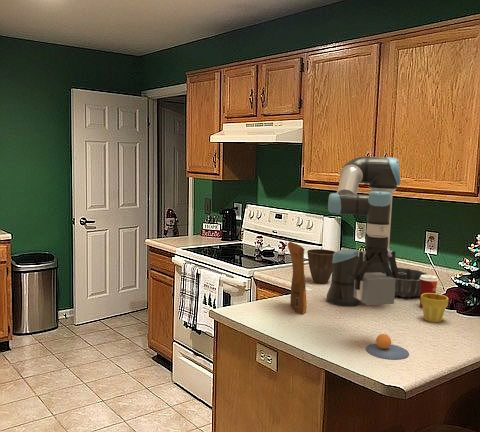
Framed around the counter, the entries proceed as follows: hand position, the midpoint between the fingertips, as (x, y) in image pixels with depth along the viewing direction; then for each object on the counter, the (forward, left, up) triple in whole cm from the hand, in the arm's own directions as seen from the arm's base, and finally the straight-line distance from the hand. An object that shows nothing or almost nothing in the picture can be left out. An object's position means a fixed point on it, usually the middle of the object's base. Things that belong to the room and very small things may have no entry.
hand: (373, 298), depth 183 cm
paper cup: (-33, +45, -15) cm, 58 cm away
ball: (+8, 0, -13) cm, 15 cm away
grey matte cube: (0, 0, -1) cm, 1 cm away
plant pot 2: (-17, +37, -15) cm, 44 cm away
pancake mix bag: (-40, -13, -16) cm, 45 cm away
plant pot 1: (-82, +16, -15) cm, 85 cm away
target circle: (+11, 0, -15) cm, 19 cm away
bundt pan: (-57, +47, -16) cm, 76 cm away
